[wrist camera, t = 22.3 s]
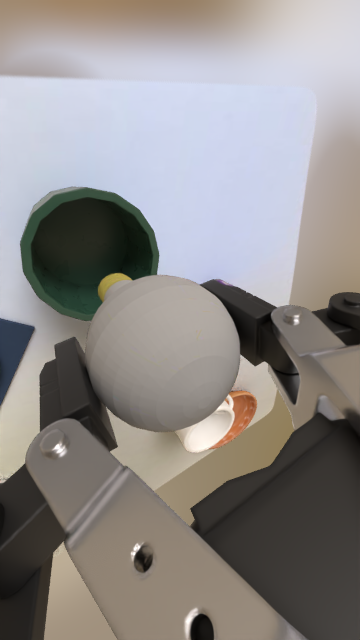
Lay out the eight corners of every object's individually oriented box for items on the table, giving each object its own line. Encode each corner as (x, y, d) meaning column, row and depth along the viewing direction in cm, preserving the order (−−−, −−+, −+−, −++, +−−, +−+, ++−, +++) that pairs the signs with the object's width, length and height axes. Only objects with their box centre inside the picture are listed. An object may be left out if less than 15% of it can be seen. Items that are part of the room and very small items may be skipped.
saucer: (187, 408, 47) (195, 419, 45) (249, 373, 52) (259, 382, 50) (195, 449, 56) (202, 460, 54) (248, 415, 61) (256, 425, 59)
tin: (10, 264, 23) (-2, 296, 16) (50, 162, 21) (55, 152, 14) (107, 300, 29) (126, 333, 23) (145, 223, 27) (178, 236, 21)
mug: (217, 358, 44) (250, 390, 37) (213, 396, 50) (241, 431, 43) (158, 379, 40) (184, 420, 33) (161, 419, 45) (183, 462, 38)
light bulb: (164, 304, 17) (273, 406, 9) (90, 339, 15) (146, 497, 7) (141, 226, 13) (280, 280, 6) (44, 260, 12) (60, 394, 4)
